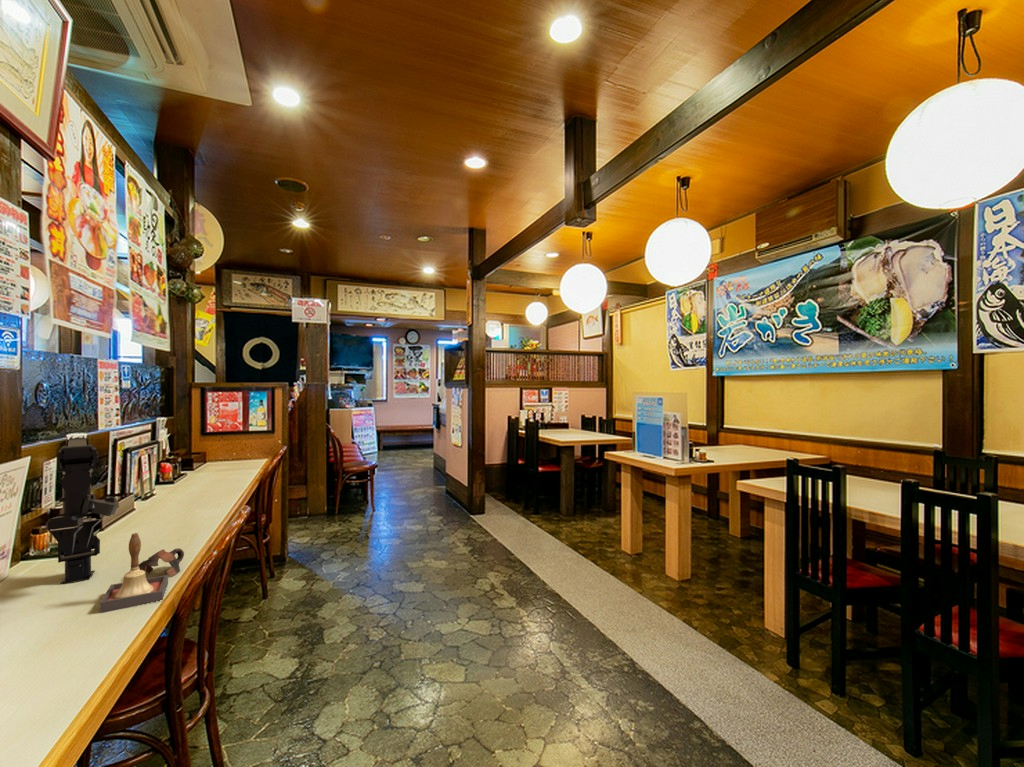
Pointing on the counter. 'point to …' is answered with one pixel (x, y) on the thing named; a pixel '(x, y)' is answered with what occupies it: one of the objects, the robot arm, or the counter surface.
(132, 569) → the hand bell
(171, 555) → the brown curved piece
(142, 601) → the tray
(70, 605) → the counter surface
